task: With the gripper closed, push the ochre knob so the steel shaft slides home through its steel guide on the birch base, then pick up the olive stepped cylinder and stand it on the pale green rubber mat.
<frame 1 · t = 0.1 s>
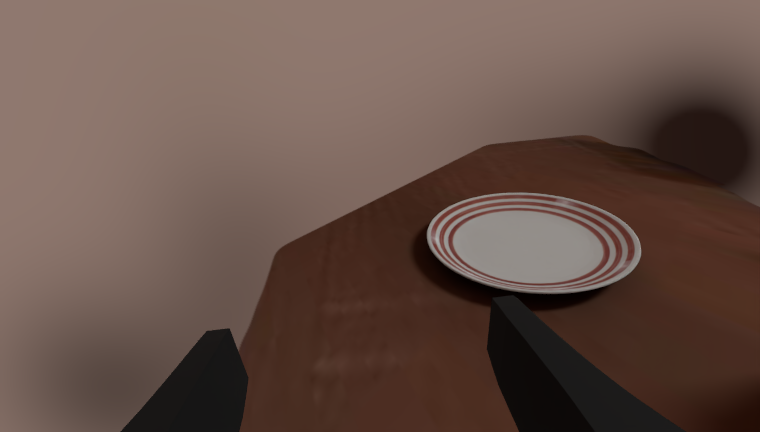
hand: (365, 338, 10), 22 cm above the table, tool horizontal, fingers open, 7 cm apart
dinner plate: (522, 250, 54), on the table
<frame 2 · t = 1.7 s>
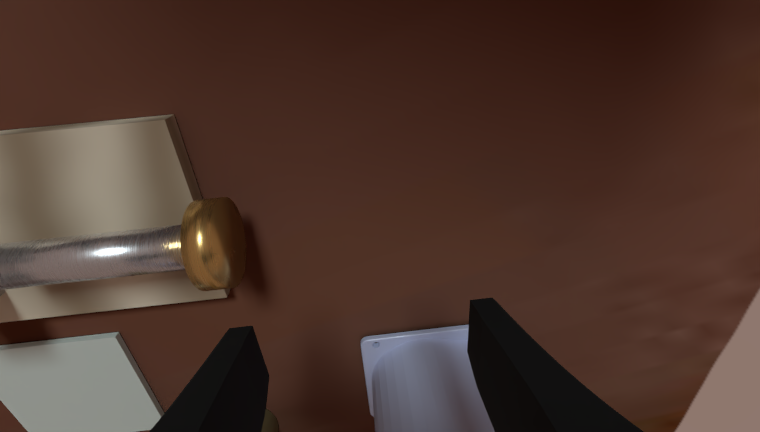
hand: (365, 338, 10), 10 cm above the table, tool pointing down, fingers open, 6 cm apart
olive stepped cylinder: (238, 424, 28), on the table
pale green mat: (77, 389, 25), on the table
shaft: (101, 255, 16), point 3 cm above the table, slide at 0.0 cm
shaft bracket: (69, 224, 19), on the table
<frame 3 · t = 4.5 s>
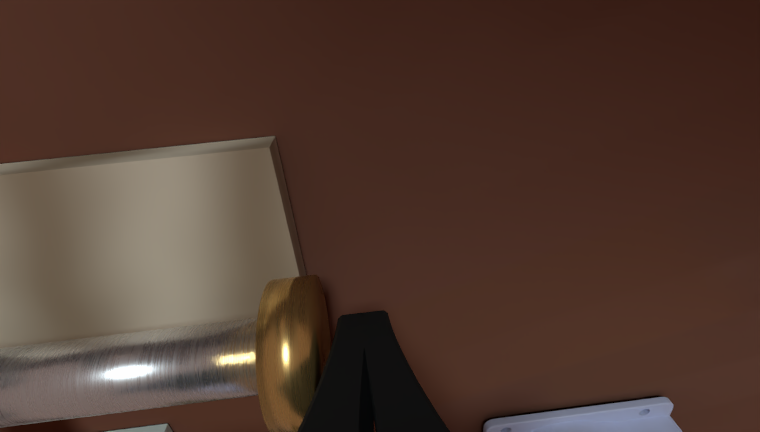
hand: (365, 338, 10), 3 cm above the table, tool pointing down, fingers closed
shaft: (115, 372, 10), point 3 cm above the table, slide at 1.5 cm, touching gripper
shaft bracket: (105, 295, 13), on the table
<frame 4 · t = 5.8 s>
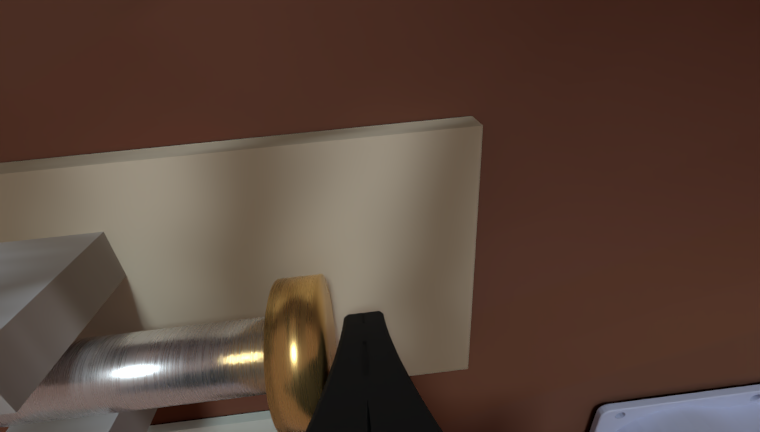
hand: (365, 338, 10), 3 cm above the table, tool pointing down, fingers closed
shaft: (121, 371, 10), point 4 cm above the table, slide at 7.1 cm, touching gripper
shaft bracket: (271, 275, 13), on the table
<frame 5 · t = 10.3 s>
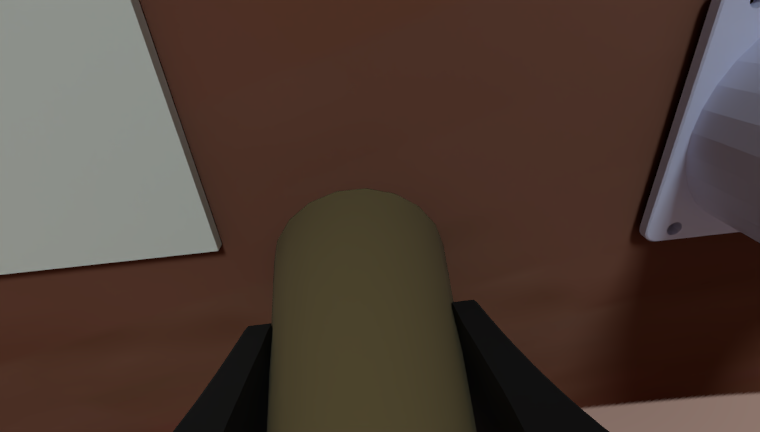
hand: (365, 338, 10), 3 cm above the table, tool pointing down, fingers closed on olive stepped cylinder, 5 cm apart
olive stepped cylinder: (360, 261, 14), on the table, touching gripper
pale green mat: (6, 124, 10), on the table
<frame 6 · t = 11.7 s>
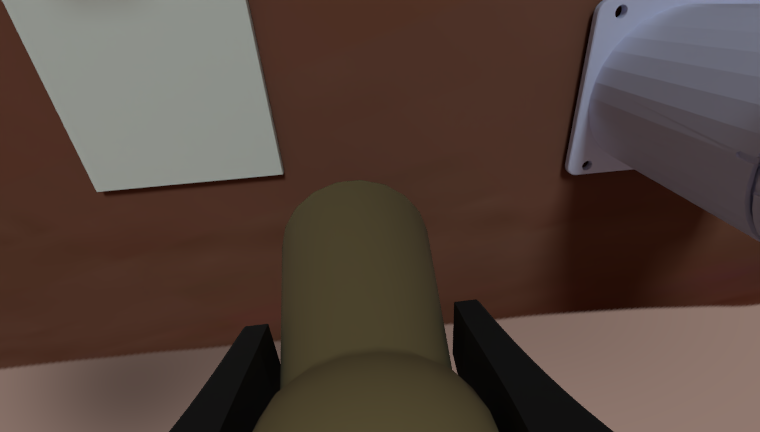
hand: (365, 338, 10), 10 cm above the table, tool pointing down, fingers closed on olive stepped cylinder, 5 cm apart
olive stepped cylinder: (356, 246, 16), point 5 cm above the table, touching gripper
pale green mat: (161, 86, 16), on the table
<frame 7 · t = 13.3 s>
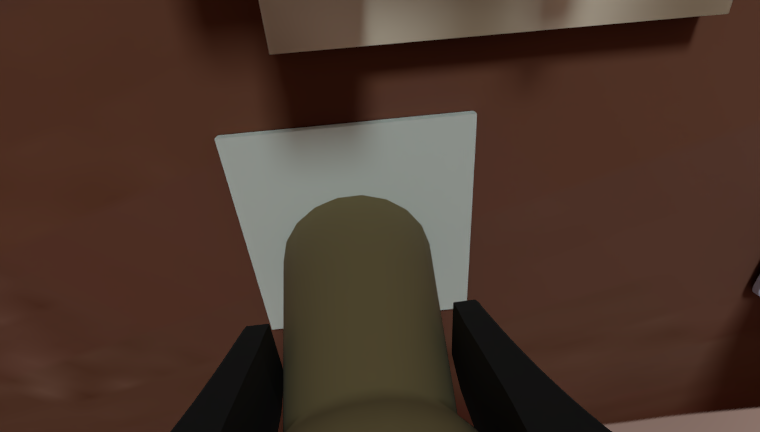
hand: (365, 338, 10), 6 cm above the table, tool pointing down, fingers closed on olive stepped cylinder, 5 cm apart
olive stepped cylinder: (358, 259, 16), resting on pale green mat, touching gripper
pale green mat: (360, 231, 15), on the table
when the fingers open (5 cm above the table, at t = 13.9 s): olive stepped cylinder stays where it is, resting on pale green mat.
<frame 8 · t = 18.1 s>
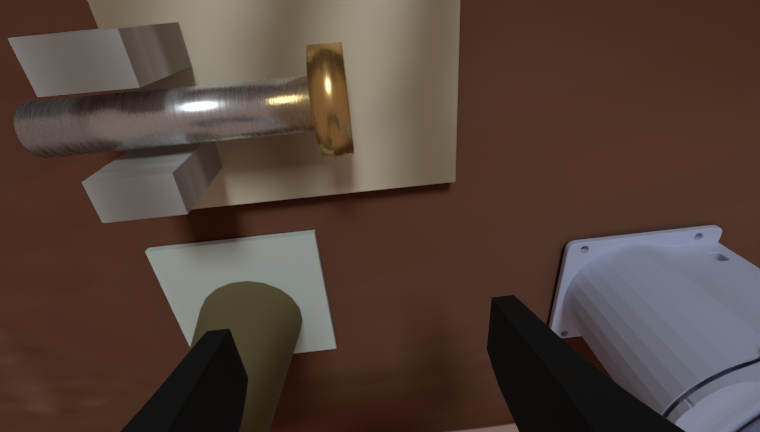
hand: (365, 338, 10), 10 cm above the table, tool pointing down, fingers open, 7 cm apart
olive stepped cylinder: (252, 317, 23), resting on pale green mat
pale green mat: (252, 300, 23), on the table
shaft: (196, 115, 14), point 3 cm above the table, slide at 7.0 cm
shaft bracket: (299, 87, 17), on the table
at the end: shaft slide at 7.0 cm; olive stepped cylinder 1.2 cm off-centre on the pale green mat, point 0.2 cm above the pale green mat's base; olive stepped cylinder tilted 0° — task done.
